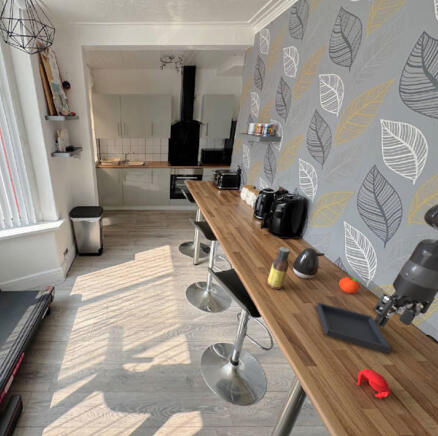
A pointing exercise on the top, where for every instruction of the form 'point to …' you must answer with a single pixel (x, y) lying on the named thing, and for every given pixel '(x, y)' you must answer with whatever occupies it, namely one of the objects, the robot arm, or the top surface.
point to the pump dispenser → (307, 263)
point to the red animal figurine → (375, 382)
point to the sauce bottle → (279, 269)
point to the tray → (352, 327)
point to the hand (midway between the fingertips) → (391, 323)
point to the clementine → (349, 285)
